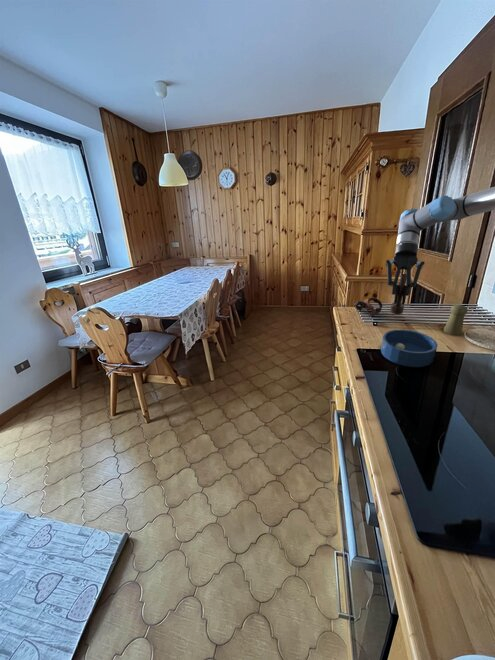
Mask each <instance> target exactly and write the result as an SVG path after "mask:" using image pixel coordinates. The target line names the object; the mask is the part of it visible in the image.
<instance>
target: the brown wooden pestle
mask: <svg viewBox="0 0 495 660" xmlns="http://www.w3.org/2000/svg"><path fill="white" fill-rule="evenodd" d="M406 278H407V274H406V273H401V274H400V276H399V283H398V285H399V289H398V296H397V302H396V304H394V302H392V303H391V305H390V310H389V311H390V313H391V314H394V315H402V314H403V313H404V309H405V304H404V305H403V304H402V298H403V292H404V287H405V285H406Z"/></svg>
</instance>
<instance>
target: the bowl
mask: <svg viewBox="0 0 495 660" xmlns="http://www.w3.org/2000/svg"><path fill="white" fill-rule="evenodd" d="M381 339H382V340H381V344H380V353H381V355H382V356H383V357H384V358H385V359H386V360H388V361H390V362H392V363H394V364H395V365H400V366H404V367H409V368H424V367H428V366H430V365H431V364H433V362H434V360H435V356H436V353H437V349H438V345H439V344H438V342H437V341H436V340H435V339H434V338H433V337H431V336H429V335H427V334H426V333H422V332H419V331H415V330H410V329H393V330H389V331H387V332H384V334H383V335H382V338H381ZM398 343H401V344H403V345H404V346H405V349H404V350H402V349H399V348H397V347H395V346H396V345H397V344H398Z"/></svg>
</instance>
